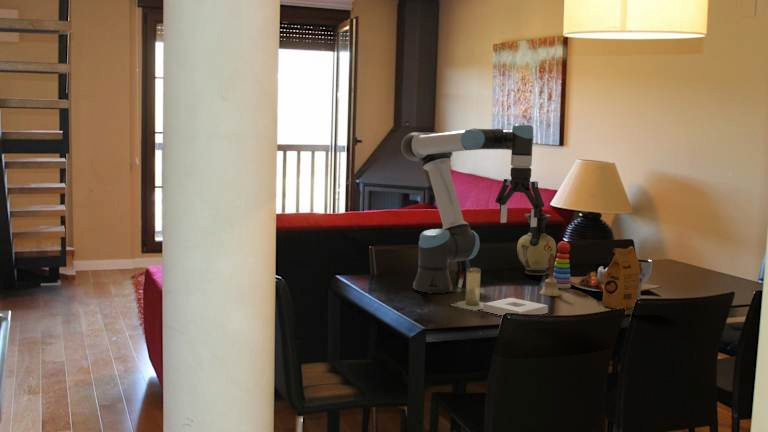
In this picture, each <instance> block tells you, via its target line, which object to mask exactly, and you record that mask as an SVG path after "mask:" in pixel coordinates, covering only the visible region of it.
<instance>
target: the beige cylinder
mask: <svg viewBox="0 0 768 432" xmlns="http://www.w3.org/2000/svg"><path fill="white" fill-rule="evenodd" d="M481 272H482V271H481V268H478V267H466V275H465V277H466V278H465V300H464V301H465V304H466V305H468V306H478V305H479V302H480V298H481V297H480V293H481Z"/></svg>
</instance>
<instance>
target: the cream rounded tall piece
mask: <svg viewBox="0 0 768 432" xmlns="http://www.w3.org/2000/svg"><path fill="white" fill-rule="evenodd" d="M524 217H527V222H528V223H529V225H530V229H529V232H528V233H527V234H525V235H523V236H521V237H520V238H519V239H518V241H517V245H516V246H517V247H516V250H517V251H516V252H517V256H518V259H519V261H520V263H521V264H522V266H524V268H525V274H528V275H533V276H534V275H537V276H540V275H542V276H543V275H546V274H547V268H548V269H549V266H548V259H549V256H550V253H552V254H554V258H556V255H557V243H556V241H555V239H554V238H553V237H551V236H550V235H548V234H547V233H546V232H545V230H546V229H545V228H546V227H545V225H546V223H547V222H548V219H549V218H551V217H552V215H550V214H545V213H543V207H542V208H540V209H539V217H538V218H537V226H536V227H531V213H525V214H524Z"/></svg>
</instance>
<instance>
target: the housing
mask: <svg viewBox="0 0 768 432" xmlns="http://www.w3.org/2000/svg"><path fill="white" fill-rule="evenodd" d="M483 303H484V304H483V310H482V312H483V311H487V312H490V313H494V314H498V315H497V316H499V315H502V314H503V313H519V314H545V313H549V312H548V311H549V309H548V308H549V305H547V304H542V303H538V302H534V301H530V300H525V299H519V298H515V297H508V298H503V299H498V300H494V301H488V302H483ZM490 313H489V314H490ZM494 314H493V315H494ZM545 315H546V314H545Z"/></svg>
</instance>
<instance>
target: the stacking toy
mask: <svg viewBox="0 0 768 432" xmlns="http://www.w3.org/2000/svg"><path fill="white" fill-rule="evenodd" d="M556 250H557V251H558V252H557V253H556V257H555V265H554V269H553V279H554V280H556V281H557V288H558V289H561V290H562V289H564V290H565V289H571V287H572V283H571V277H572V276H571V273H570V272H571V269H570V268H571V264H570V259H569V258H570V254H569V252H570V250H571V245H570V243H569V242H567V241H563V240H562V241H560V242H558V244H557V245H556Z"/></svg>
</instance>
